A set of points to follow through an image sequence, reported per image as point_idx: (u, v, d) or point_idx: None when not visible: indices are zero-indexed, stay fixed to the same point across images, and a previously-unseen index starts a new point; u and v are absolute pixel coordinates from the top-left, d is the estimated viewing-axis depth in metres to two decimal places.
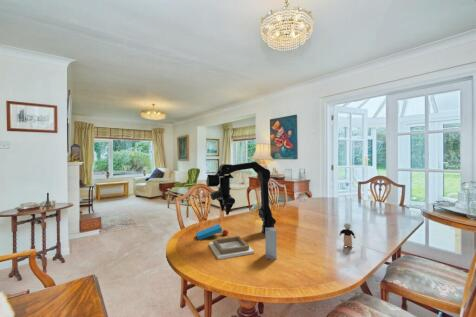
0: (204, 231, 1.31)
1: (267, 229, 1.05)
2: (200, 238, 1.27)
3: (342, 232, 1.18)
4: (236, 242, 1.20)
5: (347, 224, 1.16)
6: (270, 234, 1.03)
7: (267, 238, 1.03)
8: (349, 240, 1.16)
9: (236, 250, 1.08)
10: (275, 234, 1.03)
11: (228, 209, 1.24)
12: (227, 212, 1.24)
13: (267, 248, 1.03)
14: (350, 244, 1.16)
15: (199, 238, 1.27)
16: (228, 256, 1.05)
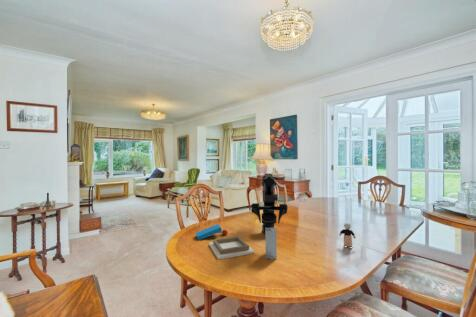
0: (204, 231, 1.31)
1: (267, 229, 1.05)
2: (200, 238, 1.27)
3: (342, 232, 1.18)
4: (236, 242, 1.20)
5: (347, 224, 1.16)
6: (270, 234, 1.03)
7: (267, 238, 1.03)
8: (349, 240, 1.16)
9: (236, 250, 1.08)
10: (274, 234, 1.03)
11: (280, 217, 1.16)
12: (279, 220, 1.14)
13: (267, 248, 1.03)
14: (350, 244, 1.16)
15: (199, 238, 1.27)
16: (228, 256, 1.05)
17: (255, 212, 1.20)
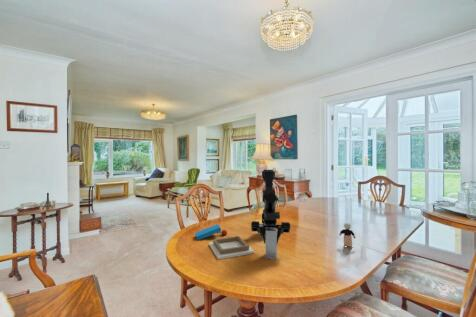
0: (203, 231, 1.31)
1: (267, 229, 1.05)
2: (199, 238, 1.27)
3: (342, 232, 1.18)
4: (236, 242, 1.20)
5: (347, 224, 1.16)
6: (271, 234, 1.03)
7: (267, 238, 1.03)
8: (349, 240, 1.16)
9: (236, 250, 1.08)
10: (275, 234, 1.03)
11: (278, 237, 1.06)
12: None
13: (267, 248, 1.03)
14: (350, 244, 1.16)
15: (198, 238, 1.27)
16: (228, 256, 1.05)
17: (259, 231, 1.10)
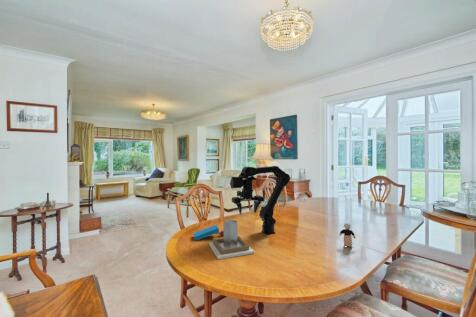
0: (201, 232, 1.30)
1: (227, 220, 1.15)
2: (197, 239, 1.26)
3: (342, 232, 1.18)
4: None
5: (347, 224, 1.16)
6: (226, 225, 1.13)
7: (224, 228, 1.14)
8: (349, 240, 1.16)
9: (236, 250, 1.08)
10: (229, 226, 1.11)
11: (239, 209, 1.32)
12: (239, 211, 1.32)
13: (224, 237, 1.14)
14: (350, 244, 1.16)
15: (196, 239, 1.26)
16: (228, 256, 1.05)
17: None
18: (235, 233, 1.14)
